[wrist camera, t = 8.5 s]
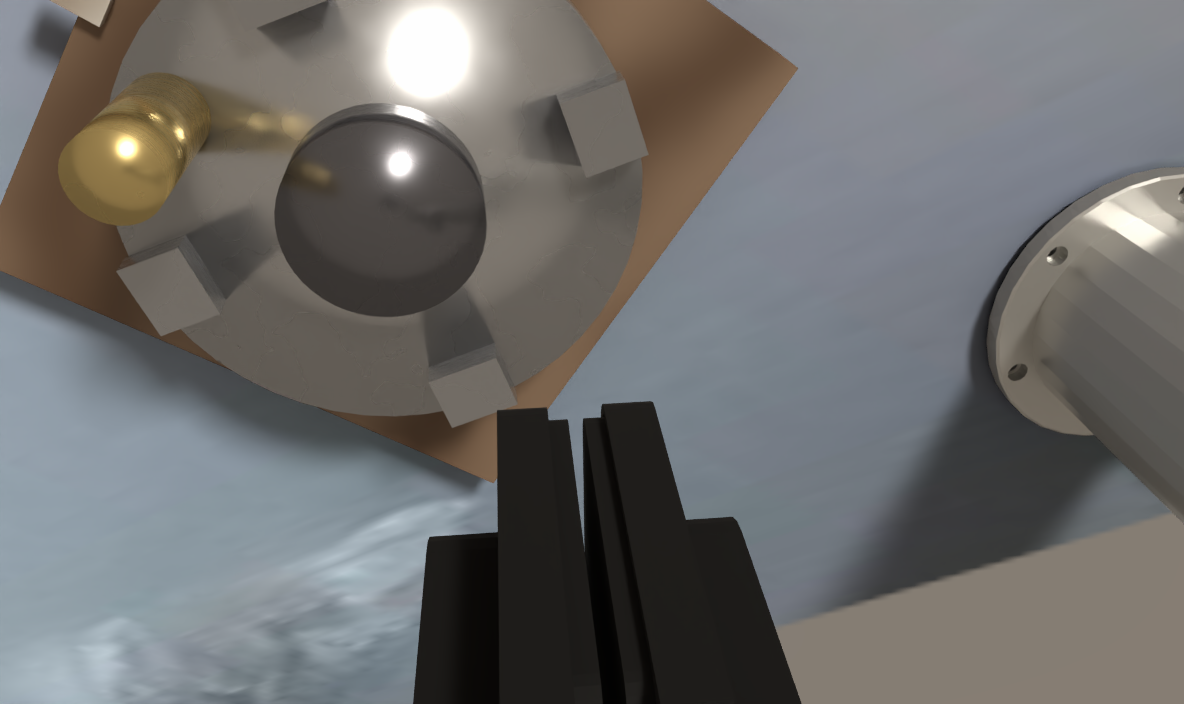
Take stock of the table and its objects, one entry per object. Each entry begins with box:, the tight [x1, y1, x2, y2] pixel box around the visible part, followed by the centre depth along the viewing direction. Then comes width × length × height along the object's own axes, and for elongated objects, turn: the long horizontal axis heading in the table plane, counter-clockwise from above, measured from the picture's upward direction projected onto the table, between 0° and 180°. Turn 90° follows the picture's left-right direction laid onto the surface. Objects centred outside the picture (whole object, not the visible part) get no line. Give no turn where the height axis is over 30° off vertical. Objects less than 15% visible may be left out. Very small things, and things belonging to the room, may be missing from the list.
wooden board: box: [0, 0, 798, 483], centre depth 32 cm, size 22×20×2 cm
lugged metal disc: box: [58, 0, 649, 428], centre depth 28 cm, size 16×16×8 cm
